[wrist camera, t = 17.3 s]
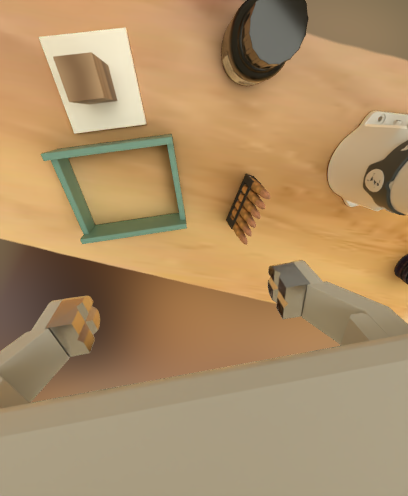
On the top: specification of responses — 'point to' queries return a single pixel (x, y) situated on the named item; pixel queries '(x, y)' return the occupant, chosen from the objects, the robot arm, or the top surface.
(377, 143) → the robot arm
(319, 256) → the top surface
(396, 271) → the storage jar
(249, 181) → the ammunition clip
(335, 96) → the top surface
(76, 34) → the board
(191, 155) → the top surface
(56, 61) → the walnut block
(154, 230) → the box
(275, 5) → the ink bottle
